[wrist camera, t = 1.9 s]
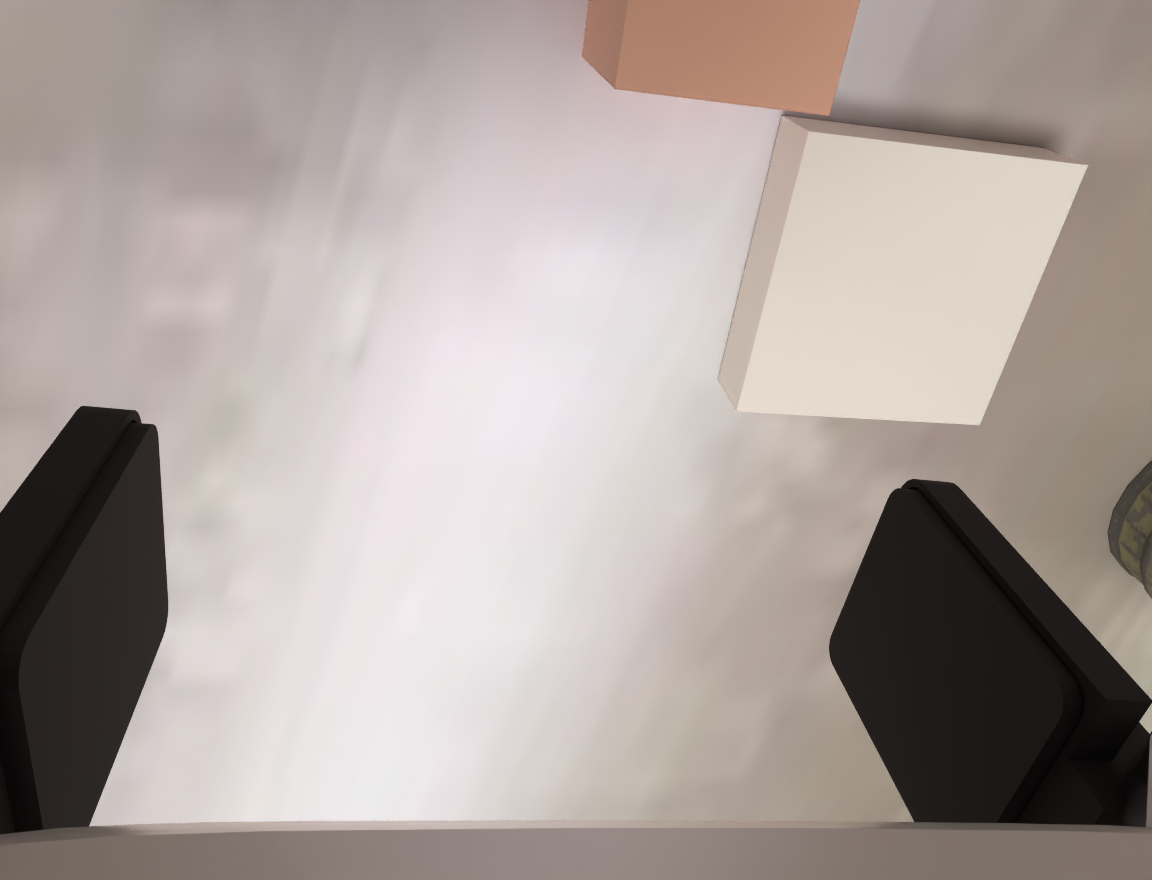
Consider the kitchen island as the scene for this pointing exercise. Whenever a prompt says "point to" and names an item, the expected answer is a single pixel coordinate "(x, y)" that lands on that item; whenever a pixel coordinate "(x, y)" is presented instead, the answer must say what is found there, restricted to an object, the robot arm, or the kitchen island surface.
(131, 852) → the robot arm
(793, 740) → the kitchen island surface
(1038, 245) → the block
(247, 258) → the kitchen island surface
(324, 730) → the kitchen island surface
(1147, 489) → the thermos
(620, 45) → the cube
